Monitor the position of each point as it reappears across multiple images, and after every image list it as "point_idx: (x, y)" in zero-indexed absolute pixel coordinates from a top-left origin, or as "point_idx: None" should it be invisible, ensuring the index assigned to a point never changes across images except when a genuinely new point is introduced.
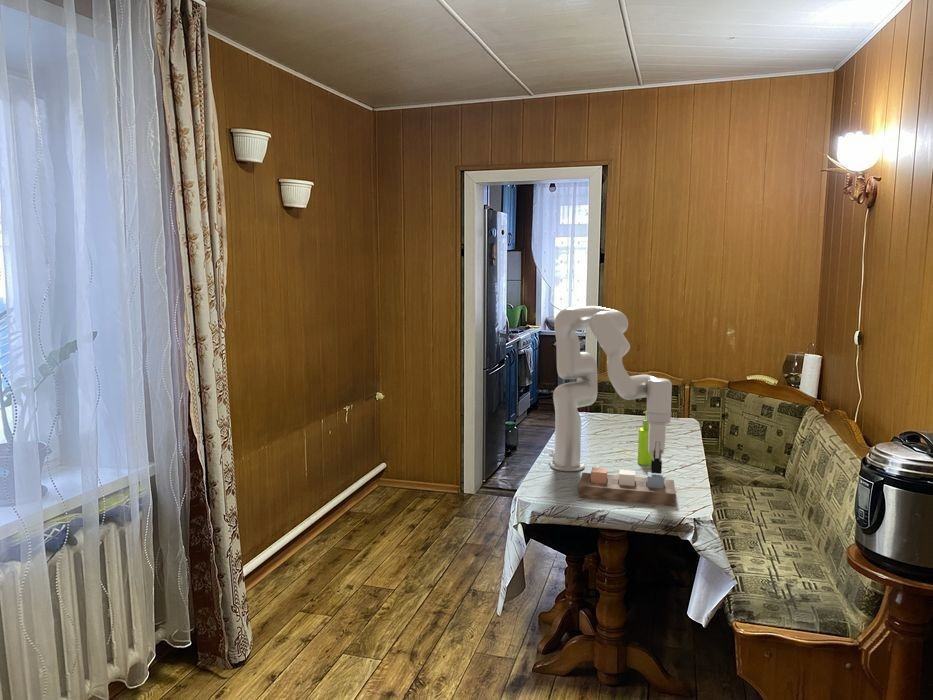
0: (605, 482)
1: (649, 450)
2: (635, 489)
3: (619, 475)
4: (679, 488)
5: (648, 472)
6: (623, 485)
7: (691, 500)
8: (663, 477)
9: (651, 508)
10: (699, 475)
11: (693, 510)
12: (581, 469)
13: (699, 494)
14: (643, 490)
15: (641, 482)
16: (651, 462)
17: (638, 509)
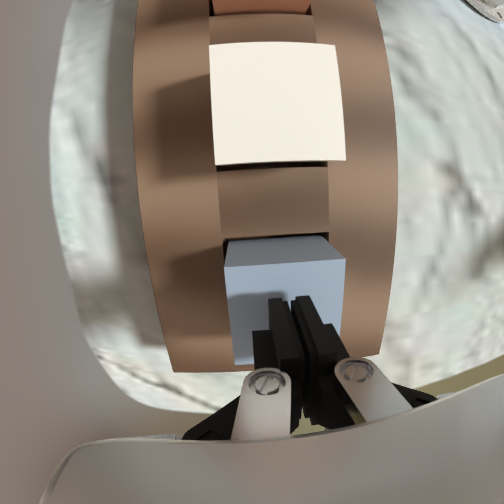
0: (213, 6)
1: (53, 475)
2: (154, 178)
3: (210, 51)
4: (396, 339)
5: (330, 264)
6: (206, 99)
7: None
8: (241, 361)
9: (119, 254)
10: (484, 361)
11: (173, 386)
12: (468, 2)
13: None
14: (154, 226)
15: (305, 203)
16: (278, 348)
17: (89, 204)
